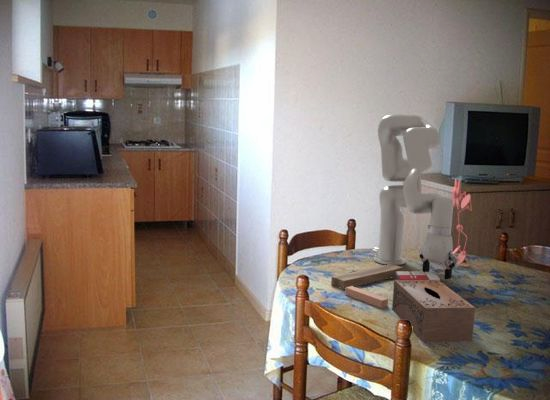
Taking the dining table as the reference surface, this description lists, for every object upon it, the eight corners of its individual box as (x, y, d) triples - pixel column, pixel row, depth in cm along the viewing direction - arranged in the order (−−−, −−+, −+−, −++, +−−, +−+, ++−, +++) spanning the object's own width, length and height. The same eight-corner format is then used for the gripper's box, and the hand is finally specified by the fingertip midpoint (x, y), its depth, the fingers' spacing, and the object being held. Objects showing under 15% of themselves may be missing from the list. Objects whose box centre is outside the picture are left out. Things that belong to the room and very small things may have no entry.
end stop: (345, 294, 204) (345, 287, 204) (351, 292, 206) (352, 285, 206) (381, 308, 192) (381, 300, 192) (387, 306, 194) (388, 298, 193)
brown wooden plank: (331, 284, 214) (331, 276, 214) (390, 271, 234) (391, 263, 234) (343, 289, 210) (343, 280, 209) (402, 275, 230) (403, 267, 229)
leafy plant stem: (462, 254, 264) (467, 175, 258) (476, 271, 239) (482, 183, 233) (426, 253, 265) (430, 174, 259) (436, 270, 240) (442, 183, 234)
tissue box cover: (392, 310, 191) (394, 280, 190) (435, 309, 193) (437, 279, 192) (422, 343, 166) (425, 308, 164) (472, 341, 168) (475, 307, 166)
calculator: (394, 270, 224) (435, 270, 223) (394, 281, 225) (435, 281, 224) (399, 278, 213) (442, 278, 213) (399, 290, 214) (441, 290, 213)
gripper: (414, 227, 224) (411, 271, 227) (454, 236, 211) (450, 283, 214) (427, 225, 229) (423, 268, 232) (466, 234, 216) (462, 280, 219)
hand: (436, 275), depth 223 cm, fingers open, 9 cm apart
